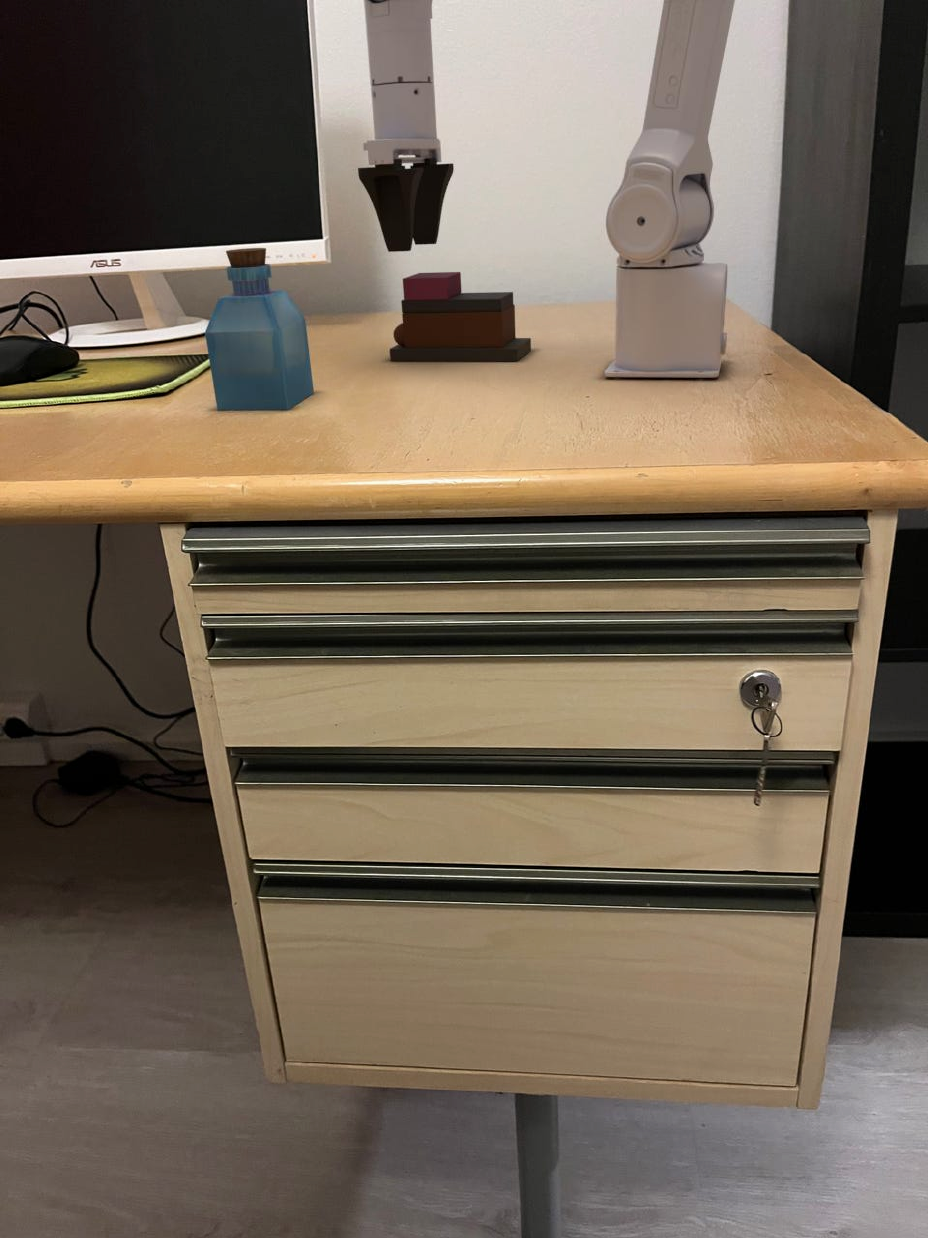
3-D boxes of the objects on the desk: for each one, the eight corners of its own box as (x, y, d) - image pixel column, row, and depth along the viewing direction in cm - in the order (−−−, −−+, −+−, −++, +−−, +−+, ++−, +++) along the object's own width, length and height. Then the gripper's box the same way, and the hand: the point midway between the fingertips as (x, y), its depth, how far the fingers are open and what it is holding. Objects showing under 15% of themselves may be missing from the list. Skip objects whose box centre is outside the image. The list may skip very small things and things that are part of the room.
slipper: (513, 304, 95) (512, 270, 93) (501, 311, 90) (500, 276, 89) (418, 305, 97) (416, 272, 96) (401, 313, 93) (399, 278, 92)
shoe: (531, 349, 97) (530, 303, 95) (517, 361, 91) (516, 312, 89) (410, 350, 100) (406, 305, 98) (390, 361, 95) (386, 314, 93)
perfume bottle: (288, 409, 77) (267, 251, 72) (217, 409, 78) (192, 254, 73) (314, 392, 83) (296, 244, 78) (247, 393, 84) (226, 247, 79)
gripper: (389, 92, 93) (399, 242, 99) (328, 83, 80) (344, 255, 86) (458, 87, 91) (465, 240, 97) (407, 77, 78) (418, 253, 84)
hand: (413, 247), depth 91 cm, fingers open, 7 cm apart
